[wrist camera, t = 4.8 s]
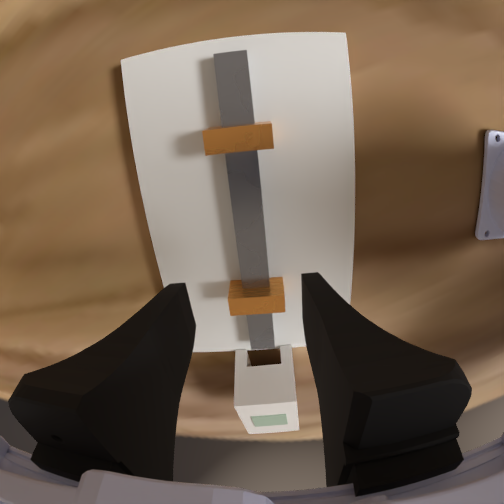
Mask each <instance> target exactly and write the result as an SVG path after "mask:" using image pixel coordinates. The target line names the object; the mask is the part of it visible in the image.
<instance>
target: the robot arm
mask: <svg viewBox="0 0 504 504" xmlns="http://www.w3.org/2000/svg"><path fill="white" fill-rule="evenodd" d="M496 135H497V140H495V137H496ZM486 231H487V232H486ZM485 232H486V234H485ZM475 236H476V238H478V239H479V240H488V239H499V238H504V132H502V131H496V130H487V131H486V133H485V149H484V166H483V178H482V188H481V197H480V205H479V212H478V219H477V225H476V231H475ZM301 285H302V319H303V328H304V336H305V342H306V347H307V351H308V355H309V359H310V363H311V367H312V371H313V375H314V379H315V383H316V387H317V392H318V398H319V405H320V414H321V423H322V433H323V443H324V455H325V468H326V485H327V487H324V488H316V489H306V490H296V491H281V492H256V491H252V490H248V489H244V488H240V487H229V486H220V485H208V484H193V483H181V482H173V460H174V445H175V434H176V424H177V416H178V408H179V402H180V397H181V393H182V389H183V385H184V382H185V378H186V374H187V371H188V367H189V363H190V359H191V356H192V352H193V348H194V341H195V332H196V323H195V319H194V315H193V311H192V307H191V303H190V299H189V295H188V291H187V287H186V283H171V284H169V285H167V286H166V287H165V288H164V289H163V290H161V291H160V292H159V293H158V294H157V295H156V296H155V297H154V298H153V299H152V300H150V301H149V302H148V303H147V304H146V305H145V306H144V307H143V308H142V309H140V310H139V311H138V312H137V313H136V314H135V315H133V316H132V317H131V318H130V319H128V320H127V321H126V322H125V323H124V324H122V325H121V326H120V327H119V328H117V329H116V330H115V331H113V332H112V333H110V334H109V335H108V336H106V337H105V338H103V339H102V340H100V341H98V342H97V343H95V344H93V345H92V346H90V347H88V348H86V349H85V350H83V351H81V352H79V353H77V354H75V355H73V356H71V357H69V358H67V359H65V360H63V361H60V362H58V363H56V364H53V365H51V366H48V367H45V368H42V369H39V370H36V371H33V372H30V373H27V374H24V376H23V377H22V379H21V380H20V382H19V384H18V385H17V387H16V389H15V390H14V392H13V394H12V395H11V397H10V399H9V401H8V402H9V407H10V410H11V412H12V414H13V415H14V416H15V418H16V419H17V420H18V422H19V423H20V424H21V425H22V426H23V427H24V428H25V429H26V430H27V431H28V432H29V434H30V435H31V436H32V437H33V438H34V439H35V440H36V441H37V442H38V443H37V446H36V448H35V450H34V452H33V454H29V453H27V452H24V451H21V450H19V449H17V448H14V447H12V446H9V444H8V443H7V442H6V440H5V439H4V438H3V437H1V436H0V504H504V433H503V434H502V436H501V437H500V438H498V439H496V440H493V441H491V442H489V443H487V444H484V445H482V446H480V447H477V448H475V449H472V450H470V451H467V452H465V453H461V450H460V447H459V445H458V442H457V440H456V438H457V437H458V436H459V430H458V428H457V426H456V422H457V421H458V419H459V418H460V416H461V414H462V413H463V411H464V409H465V408H466V406H467V404H468V402H469V399H470V397H471V392H472V388H471V386H470V384H469V382H468V380H467V378H466V376H465V374H464V372H463V371H462V369H461V368H460V366H459V364H458V363H457V362H456V360H455V359H451V358H448V357H445V356H442V355H438V354H435V353H432V352H429V351H426V350H424V349H421V348H419V347H417V346H414V345H412V344H410V343H407V342H405V341H403V340H401V339H399V338H397V337H396V336H394V335H392V334H390V333H388V332H386V331H385V330H383V329H381V328H380V327H378V326H377V325H375V324H374V323H372V322H371V321H369V320H368V319H367V318H365V317H364V316H363V315H361V314H360V313H359V312H358V311H356V310H355V309H354V308H353V307H352V306H351V305H350V304H348V303H347V302H346V301H345V300H344V299H343V298H342V297H341V296H340V295H339V294H338V293H337V292H336V291H335V290H334V289H333V288H332V287H331V286H330V285H329V283H328V282H327V281H326V280H325V279H324V278H323V277H322V275H321V274H319V273H318V272H314V273H303V274H301Z"/></svg>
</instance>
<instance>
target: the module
mask: <svg viewBox="0 0 504 504" xmlns="http://www.w3.org/2000/svg"><path fill="white" fill-rule="evenodd" d="M280 352H281V364H273V365H262V366H252V365H251V362H250V359H249V356H248V352H247V349H243V350H235V385H234V407H235V409H236V411H237V413H238V415H239V417H240V418H241V420H242V422H243V424H244V426H245V428H246V430H247V431H248V433H249V434H258V433H273V432H285V431H295V430H299V421H298V410H297V398H296V387H295V377H294V366H293V356H292V347H291V345H284V346H280Z"/></svg>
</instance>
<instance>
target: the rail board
mask: <svg viewBox="0 0 504 504" xmlns="http://www.w3.org/2000/svg"><path fill="white" fill-rule="evenodd" d="M240 50H247V54H248V63H249V72H250V81H251V91H252V100H253V109H254V119H255V122H266V121H271V123H272V131H273V142H274V149H265V150H258V159H259V169H260V179H261V189H262V200H263V211H264V222H265V233H266V244H267V255H268V266H269V278H273V277H283V285H284V294H285V312H282V313H272V314H273V326H274V339H275V348H273V349H279V348H280V346H284V345H291V347H304V346H306V342H305V336H304V328H303V319H302V285H301V274H303V273H314V272H318V273H319V274H321V275H322V277H323V278H324V279H325V280H326V281H327V282H328V283H329V285H330V286H331V287H332V288H333V289H334V290H335V291H336V292H337V293H338V294H339V295H340V296H341V297H342V298H343V299H344V300H345V301H346V302H347V303H348V304H350V301H351V288H352V273H353V255H354V230H355V146H354V121H353V104H352V90H351V78H350V67H349V57H348V48H347V39H346V33H338V32H291V33H271V34H257V35H246V36H237V37H229V38H221V39H214V40H207V41H201V42H195V43H190V44H185V45H179V46H174V47H170V48H165V49H161V50H156V51H152V52H148V53H144V54H140V55H137V56H133V57H129V58H126V59H122V60H121V68H122V77H123V85H124V93H125V101H126V108H127V115H128V122H129V129H130V135H131V141H132V147H133V153H134V158H135V164H136V169H137V174H138V180H139V185H140V190H141V195H142V199H143V204H144V209H145V213H146V218H147V222H148V227H149V231H150V235H151V239H152V243H153V248H154V252H155V256H156V260H157V263H158V267H159V271H160V275H161V279H162V282H163V286H164V288H165V287H166V286H167V285H169V284H171V283H186V287H187V291H188V295H189V299H190V303H191V307H192V311H193V315H194V319H195V323H196V332H195V341H194V348H193V352H222V351H235V350H243V349H247V350H251V345H250V338H249V331H248V324H247V317H246V315H237V316H230V310H229V305H228V293H229V287H230V281H231V280H241V274H240V266H239V259H238V251H237V244H236V236H235V229H234V221H233V213H232V206H231V198H230V190H229V182H228V174H227V166H226V158H225V153H224V154H216V155H207V156H205V149H204V142H203V134H202V131H203V130H205V129H207V128H210V127H218V126H222V125H221V117H220V108H219V100H218V91H217V83H216V74H215V65H214V56H213V54H216V53H224V52H231V51H240ZM257 350H264V349H257Z"/></svg>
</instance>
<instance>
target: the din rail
mask: <svg viewBox="0 0 504 504" xmlns="http://www.w3.org/2000/svg"><path fill="white" fill-rule="evenodd" d="M213 56H214V65H215V74H216V83H217V91H218V100H219V108H220V117H221V125H222V126H218V127H210V128H207V129H205V130H203V131H202V134H203V142H204V149H205V156H207V155H216V154H224V153H225V158H226V166H227V174H228V182H229V190H230V198H231V206H232V213H233V221H234V229H235V236H236V244H237V251H238V259H239V266H240V274H241V280H231V281H230V287H229V293H228V305H229V310H230V316H237V315H246V317H247V324H248V331H249V338H250V345H251V350H257V349H273V348H275V339H274V326H273V314H272V313H282V312H285V294H284V285H283V277H273V278H269V266H268V255H267V244H266V233H265V222H264V211H263V200H262V189H261V179H260V169H259V159H258V150H265V149H274V142H273V131H272V123H271V121H266V122H255V119H254V109H253V100H252V91H251V81H250V72H249V63H248V54H247V50H240V51H231V52H224V53H216V54H213Z"/></svg>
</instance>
